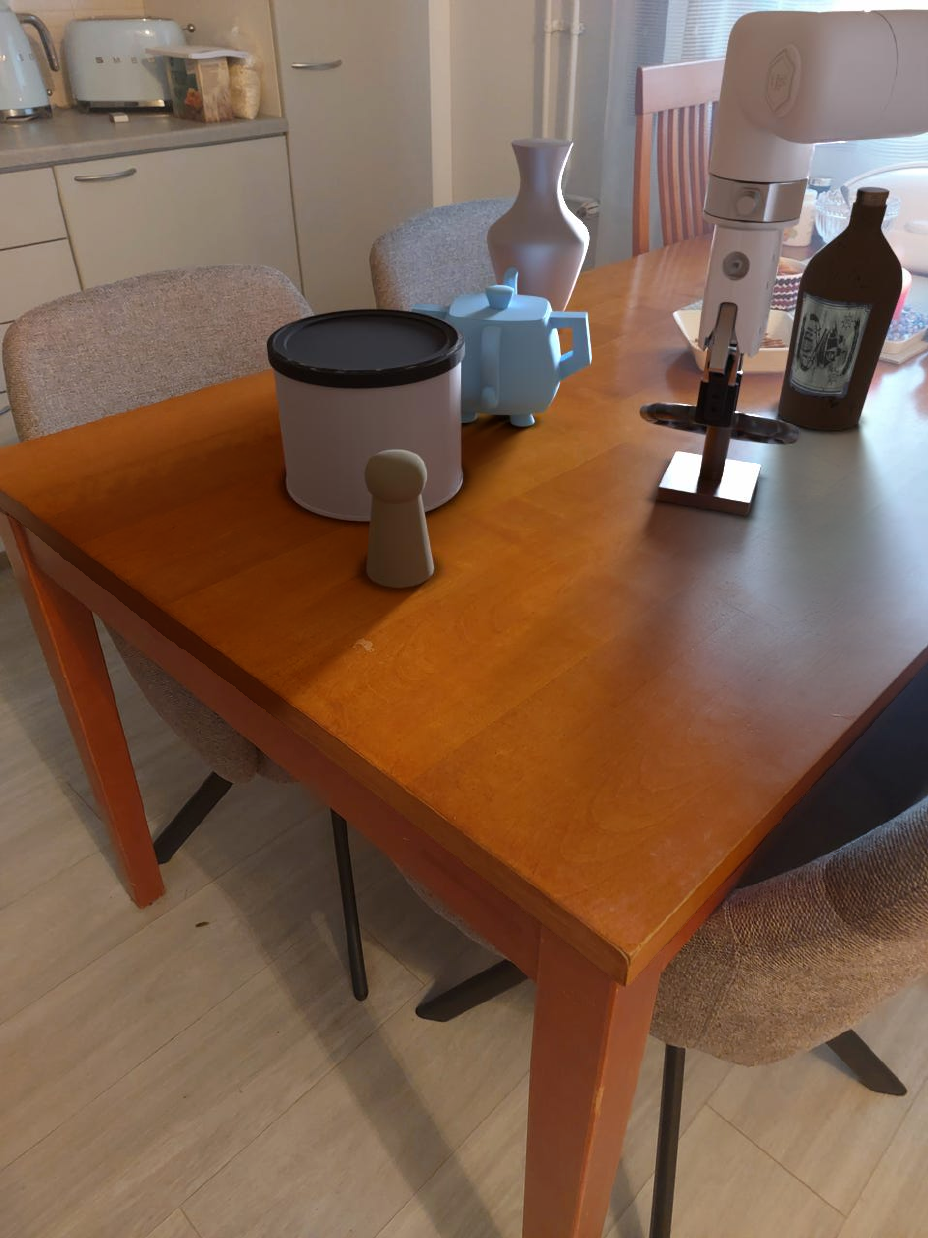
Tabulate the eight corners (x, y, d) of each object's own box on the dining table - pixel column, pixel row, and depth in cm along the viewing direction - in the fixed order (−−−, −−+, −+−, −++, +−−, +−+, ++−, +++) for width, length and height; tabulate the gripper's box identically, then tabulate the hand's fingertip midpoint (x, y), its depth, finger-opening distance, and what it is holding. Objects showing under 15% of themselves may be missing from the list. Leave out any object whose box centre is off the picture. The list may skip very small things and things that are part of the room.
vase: (469, 321, 137) (470, 137, 122) (551, 309, 142) (562, 131, 127) (513, 350, 126) (519, 153, 112) (600, 336, 131) (617, 145, 116)
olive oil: (790, 392, 114) (838, 176, 99) (875, 411, 109) (940, 187, 94) (758, 419, 107) (806, 191, 92) (848, 441, 102) (913, 204, 87)
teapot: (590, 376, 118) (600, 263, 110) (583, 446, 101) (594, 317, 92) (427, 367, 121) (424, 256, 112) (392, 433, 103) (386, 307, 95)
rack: (758, 477, 94) (783, 362, 87) (747, 516, 88) (773, 394, 80) (673, 463, 97) (691, 350, 90) (656, 499, 90) (673, 380, 83)
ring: (795, 449, 92) (799, 434, 92) (799, 438, 78) (803, 420, 78) (650, 426, 97) (653, 412, 97) (628, 412, 83) (632, 395, 83)
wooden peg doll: (447, 563, 80) (445, 451, 74) (408, 595, 76) (403, 479, 70) (392, 544, 83) (387, 435, 77) (352, 574, 79) (342, 461, 73)
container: (253, 470, 95) (232, 330, 87) (399, 427, 105) (393, 296, 96) (344, 543, 83) (331, 388, 75) (500, 486, 93) (505, 343, 84)
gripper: (793, 225, 63) (744, 461, 74) (811, 185, 75) (767, 394, 86) (687, 216, 66) (655, 447, 76) (720, 179, 77) (689, 383, 88)
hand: (714, 417), depth 81 cm, fingers closed
